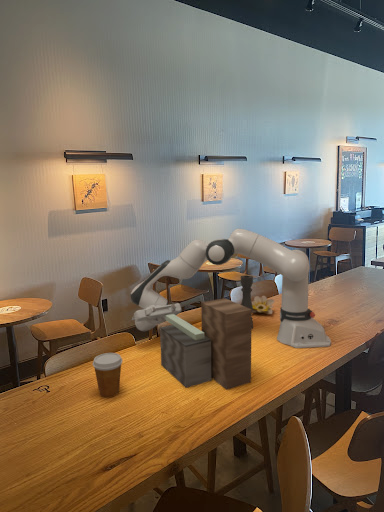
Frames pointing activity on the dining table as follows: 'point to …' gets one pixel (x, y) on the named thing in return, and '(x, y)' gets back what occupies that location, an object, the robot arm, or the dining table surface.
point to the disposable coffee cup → (108, 373)
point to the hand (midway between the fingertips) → (164, 307)
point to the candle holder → (247, 292)
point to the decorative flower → (262, 305)
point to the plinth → (228, 341)
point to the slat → (185, 327)
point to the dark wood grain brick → (185, 356)
